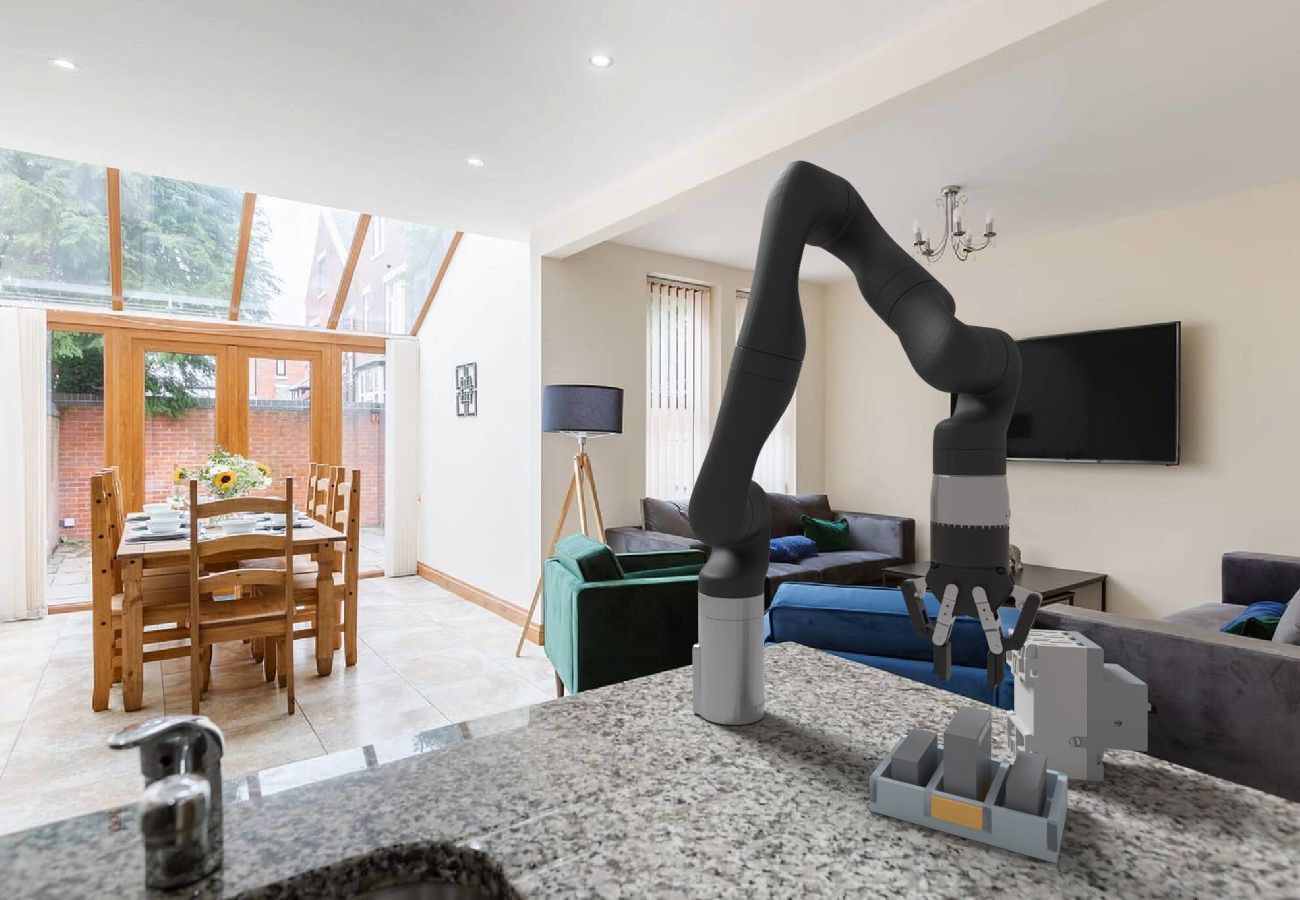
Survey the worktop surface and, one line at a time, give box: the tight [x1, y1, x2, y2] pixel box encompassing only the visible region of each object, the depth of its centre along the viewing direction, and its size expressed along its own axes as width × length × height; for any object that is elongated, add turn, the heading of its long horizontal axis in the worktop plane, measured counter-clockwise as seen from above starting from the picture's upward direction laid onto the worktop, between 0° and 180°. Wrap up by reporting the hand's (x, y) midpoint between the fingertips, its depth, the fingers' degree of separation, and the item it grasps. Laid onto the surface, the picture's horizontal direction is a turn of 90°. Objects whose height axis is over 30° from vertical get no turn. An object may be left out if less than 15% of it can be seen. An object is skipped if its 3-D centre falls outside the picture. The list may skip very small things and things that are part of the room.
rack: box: [868, 727, 1069, 865], centre depth 75 cm, size 17×12×6 cm
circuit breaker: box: [1005, 628, 1158, 782], centre depth 85 cm, size 8×14×15 cm, turn 78°
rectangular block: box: [943, 705, 992, 803], centre depth 75 cm, size 3×9×8 cm, turn 146°
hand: (968, 682), depth 75 cm, fingers open, 4 cm apart
